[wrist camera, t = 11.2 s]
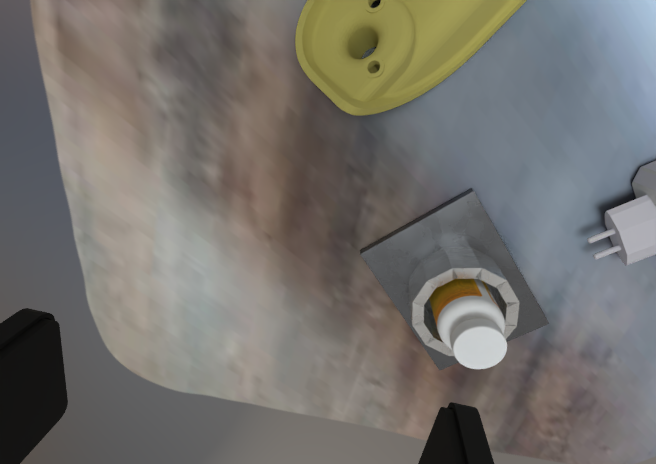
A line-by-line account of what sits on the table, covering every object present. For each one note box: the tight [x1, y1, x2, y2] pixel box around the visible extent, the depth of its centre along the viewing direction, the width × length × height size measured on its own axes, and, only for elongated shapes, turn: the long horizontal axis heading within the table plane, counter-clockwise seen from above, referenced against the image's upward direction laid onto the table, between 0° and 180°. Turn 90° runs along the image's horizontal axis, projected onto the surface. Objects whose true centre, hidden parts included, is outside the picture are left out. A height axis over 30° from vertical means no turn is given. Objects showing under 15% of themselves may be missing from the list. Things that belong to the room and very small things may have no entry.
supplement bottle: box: [429, 279, 507, 369], centre depth 35 cm, size 5×5×10 cm
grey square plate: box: [360, 188, 549, 370], centre depth 38 cm, size 16×12×6 cm
